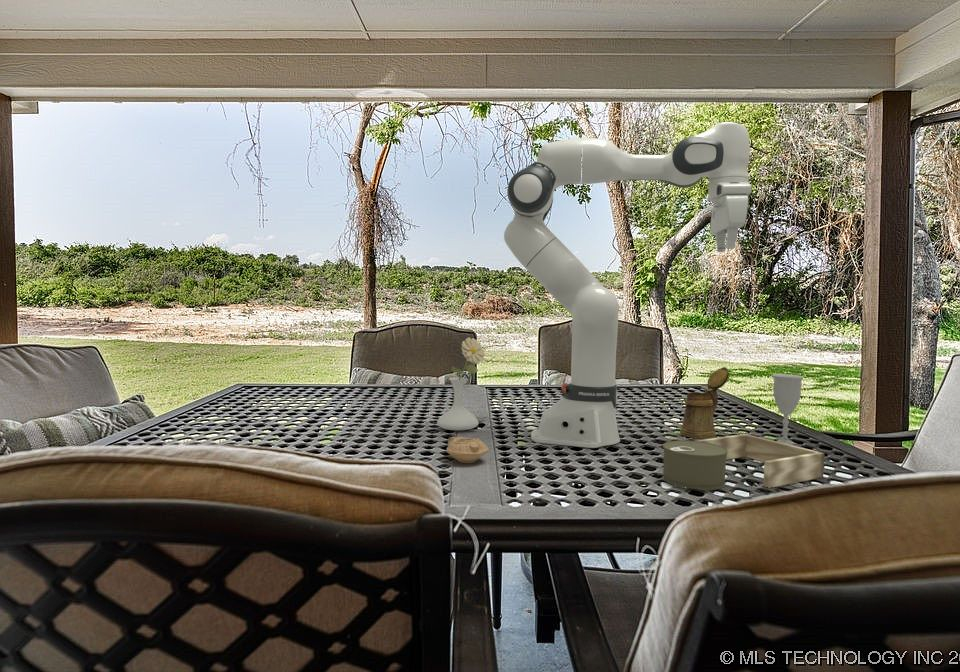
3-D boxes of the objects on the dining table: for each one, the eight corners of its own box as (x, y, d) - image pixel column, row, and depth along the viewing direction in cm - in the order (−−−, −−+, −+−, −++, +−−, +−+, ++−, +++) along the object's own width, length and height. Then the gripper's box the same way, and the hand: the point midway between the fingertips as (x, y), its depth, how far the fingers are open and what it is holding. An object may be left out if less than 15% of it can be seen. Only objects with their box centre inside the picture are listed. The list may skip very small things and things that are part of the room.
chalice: (804, 454, 142) (808, 378, 140) (773, 452, 143) (776, 377, 142) (794, 447, 149) (798, 374, 148) (765, 445, 150) (768, 373, 149)
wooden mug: (736, 436, 160) (739, 368, 159) (697, 440, 154) (699, 370, 153) (711, 429, 168) (713, 365, 167) (672, 433, 163) (675, 366, 161)
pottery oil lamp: (467, 448, 141) (481, 424, 139) (481, 479, 130) (496, 453, 129) (434, 438, 137) (448, 413, 136) (445, 470, 127) (460, 442, 125)
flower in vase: (445, 435, 156) (446, 339, 155) (431, 426, 167) (431, 336, 165) (491, 431, 161) (492, 338, 160) (474, 423, 172) (475, 335, 170)
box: (767, 488, 115) (769, 462, 115) (691, 463, 132) (692, 441, 132) (823, 477, 123) (824, 453, 123) (744, 455, 140) (745, 433, 140)
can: (739, 487, 116) (741, 452, 115) (688, 493, 112) (689, 457, 111) (697, 470, 127) (699, 438, 127) (649, 475, 123) (650, 442, 123)
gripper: (705, 199, 155) (703, 253, 156) (724, 184, 135) (721, 246, 136) (731, 199, 154) (728, 253, 155) (753, 184, 134) (751, 246, 135)
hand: (725, 250), depth 145 cm, fingers open, 8 cm apart
